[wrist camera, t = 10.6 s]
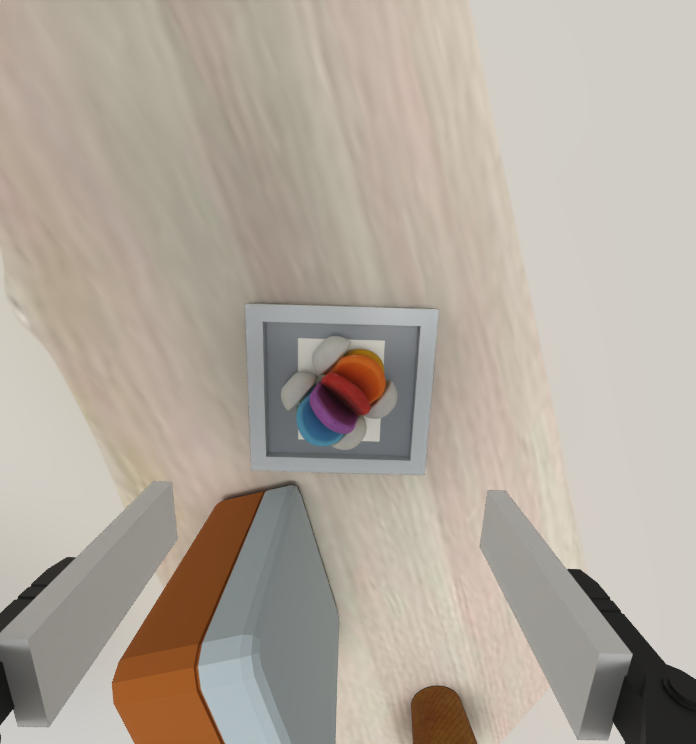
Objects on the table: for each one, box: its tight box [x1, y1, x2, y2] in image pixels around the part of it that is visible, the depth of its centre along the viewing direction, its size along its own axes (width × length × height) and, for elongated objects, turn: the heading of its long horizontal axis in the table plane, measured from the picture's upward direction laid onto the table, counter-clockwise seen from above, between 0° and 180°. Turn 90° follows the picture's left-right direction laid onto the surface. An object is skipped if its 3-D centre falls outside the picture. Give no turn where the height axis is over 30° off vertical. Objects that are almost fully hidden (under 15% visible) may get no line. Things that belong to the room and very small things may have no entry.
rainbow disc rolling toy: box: [281, 336, 397, 450], centre depth 29 cm, size 8×10×7 cm
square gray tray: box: [245, 303, 439, 475], centre depth 33 cm, size 16×17×2 cm
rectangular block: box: [112, 485, 339, 744], centre depth 29 cm, size 18×9×21 cm, turn 14°
